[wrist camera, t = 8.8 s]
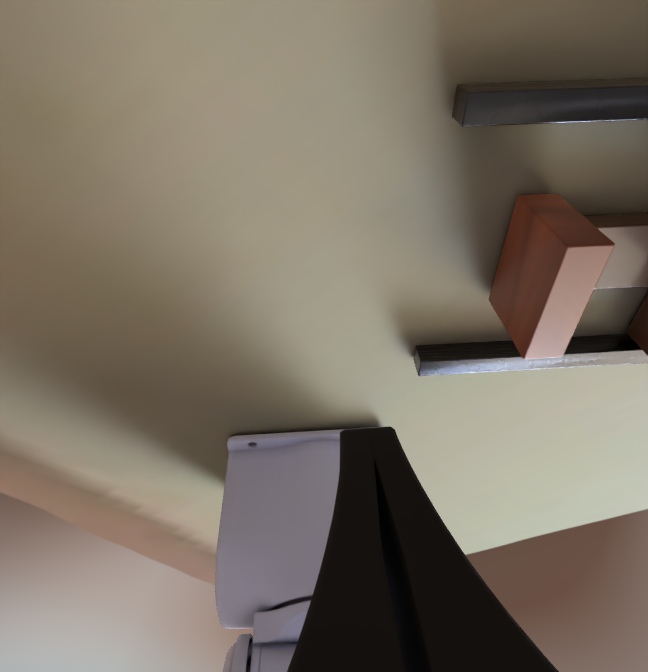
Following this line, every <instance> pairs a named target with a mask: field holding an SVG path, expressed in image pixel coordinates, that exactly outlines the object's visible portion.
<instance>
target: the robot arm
mask: <svg viewBox="0 0 648 672" xmlns="http://www.w3.org/2000/svg"><path fill="white" fill-rule="evenodd" d="M227 447H228V451H229V455H228V463H227V471H226V479H225V487H224V495H223V503H222V511H221V519H220V527H219V535H218V543H217V553H216V571H215V593H216V606H217V612H218V617H219V621H220V624H221V625H222V627H224V628H227V629H253V636H252V635H251V634H242V635H240V636H239V637H238V639H237V642H236V643H235V644H234V645H233V646H232V647H231V648H230V649H229V651H228V653H227V656H226V659H225V664H224V669H223V672H559V671H558V670H557V669H556V668H555V667H554V666H553V665H552V664H551V663H550V661H548V659H547V658H546V657H545V656H544V655H543V653H542V652H541V651H540V650H539V649H538V647H536V645H535V644H534V643H533V642H532V641H531V639H530V638H529V637H528V636H527V635H526V633H525V632H524V631H523V630H522V629H521V627H520V626H519V625H518V624H517V622H515V620H514V619H513V618H512V617H511V615H510V614H509V613H508V612H507V610H506V609H505V608H504V607H503V605H502V604H501V603H500V602H499V600H498V599H497V598H496V596H495V595H494V594H493V593H492V591H491V590H490V589H489V587H488V586H487V585H486V583H485V582H484V581H483V579H482V578H481V577H480V575H479V574H478V572H477V571H476V570H475V568H474V567H473V566H472V564H471V563H470V562H469V560H468V559H467V557H466V556H465V554H464V553H463V551H462V550H461V548H460V547H459V546H458V544H457V543H456V541H455V539H454V538H453V536H452V535H451V533H450V532H449V530H448V529H447V527H446V526H445V524H444V523H443V521H442V519H441V518H440V516H439V515H438V513H437V511H436V510H435V508H434V506H433V504H432V503H431V501H430V499H429V498H428V496H427V494H426V493H425V491H424V489H423V487H422V486H421V484H420V482H419V480H418V478H417V476H416V475H415V473H414V471H413V469H412V467H411V465H410V463H409V461H408V459H407V457H406V455H405V453H404V451H403V449H402V446H401V444H400V442H399V440H398V437H397V435H396V432H395V430H394V429H393V428H392V427H371V428H355V429H338V430H322V431H305V432H289V433H272V434H256V435H239V436H232V437H230V438H229V439H228V441H227Z"/></svg>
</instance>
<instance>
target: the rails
mask: <svg viewBox="0 0 648 672" xmlns="http://www.w3.org/2000/svg"><path fill="white" fill-rule="evenodd" d="M452 117H453V118H454V119H455V120H456V121H457V122H458V123H459V124H460V125H461V126H462V127H469V126H494V125H520V124H545V123H570V122H595V121H621V120H646V119H648V78H621V79H594V80H567V81H539V82H512V83H484V84H459V85H457V89H456V95H455V101H454V108H453V114H452ZM414 363H415V366H416V369H417V373H418V375H419V376H426V375H443V374H461V373H478V372H495V371H513V370H530V369H548V368H565V367H583V366H600V365H618V364H635V363H648V356H647V355H646V354H645V353H644V351H643V350H642V349H641V348H640V347H639V346H638V345H637V344H636V343H635V342H634V340H633V339H632V338H631V337H630V336H629V335H628V334H623V335H604V336H586V337H572V338H571V340H570V342H569V344H568V346H567V349H566V351H565V353H564V355H563V357H555V358H538V359H523V358H522V356H521V354H520V353H519V351H518V349H517V348H516V346H515V344H514V342H513V341H495V342H477V343H459V344H441V345H423V346H416V347H415V353H414Z"/></svg>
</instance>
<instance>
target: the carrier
mask: <svg viewBox="0 0 648 672" xmlns="http://www.w3.org/2000/svg"><path fill="white" fill-rule="evenodd" d="M644 286H648V213H640V214H618V215H596V216H583V215H582V214H581V213H579V212H578V211H577V210H576V209H575V208H574V207H572V206H571V205H570V204H569V203H568V202H567V201H566V200H564V199H563V198H562V197H561V196H560V195H559V194H534V195H518V196H517V200H516V203H515V207H514V211H513V214H512V218H511V221H510V225H509V228H508V232H507V235H506V239H505V243H504V246H503V250H502V253H501V257H500V260H499V264H498V267H497V271H496V275H495V278H494V282H493V285H492V289H491V292H490V296H489V301H490V303H491V305H492V306H493V308H494V310H495V312H496V313H497V315H498V317H499V318H500V320H501V322H502V324H503V325H504V327H505V329H506V330H507V332H508V334H509V336H510V337H511V339H512V341H513V342H514V344H515V346H516V348H517V349H518V351H519V353H520V354H521V356H522V358H523V359H538V358H555V357H563V355H564V353H565V351H566V349H567V346H568V344H569V342H570V340H571V338H572V336H573V334H574V331H575V329H576V327H577V325H578V323H579V321H580V319H581V317H582V314H583V312H584V310H585V308H586V306H587V304H588V302H589V299H590V297H591V295H592V293H593V291H594V289H605V288H624V287H644ZM626 333H627V334H628V335H629V336H630V337H631V338H632V339H633V340H634V342H635V343H636V344H637V345H638V346H639V347H640V348H641V349H642V350H643V351H644V353H645V354H646V355H647V356H648V295H647V296H646V298H645V300H644V302H643V303H642V305H641V307H640V309H639V310H638V312H637V314H636V316H635V317H634V319H633V321H632V323H631V324H630V326H629V328H628V330H627V331H626Z"/></svg>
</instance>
